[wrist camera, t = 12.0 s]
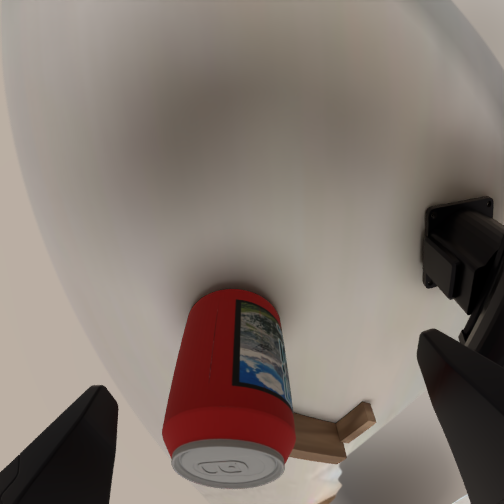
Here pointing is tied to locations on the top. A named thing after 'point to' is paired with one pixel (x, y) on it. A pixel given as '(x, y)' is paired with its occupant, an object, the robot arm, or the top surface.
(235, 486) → the beverage can
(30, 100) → the top surface
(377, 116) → the top surface
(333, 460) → the can cradle
